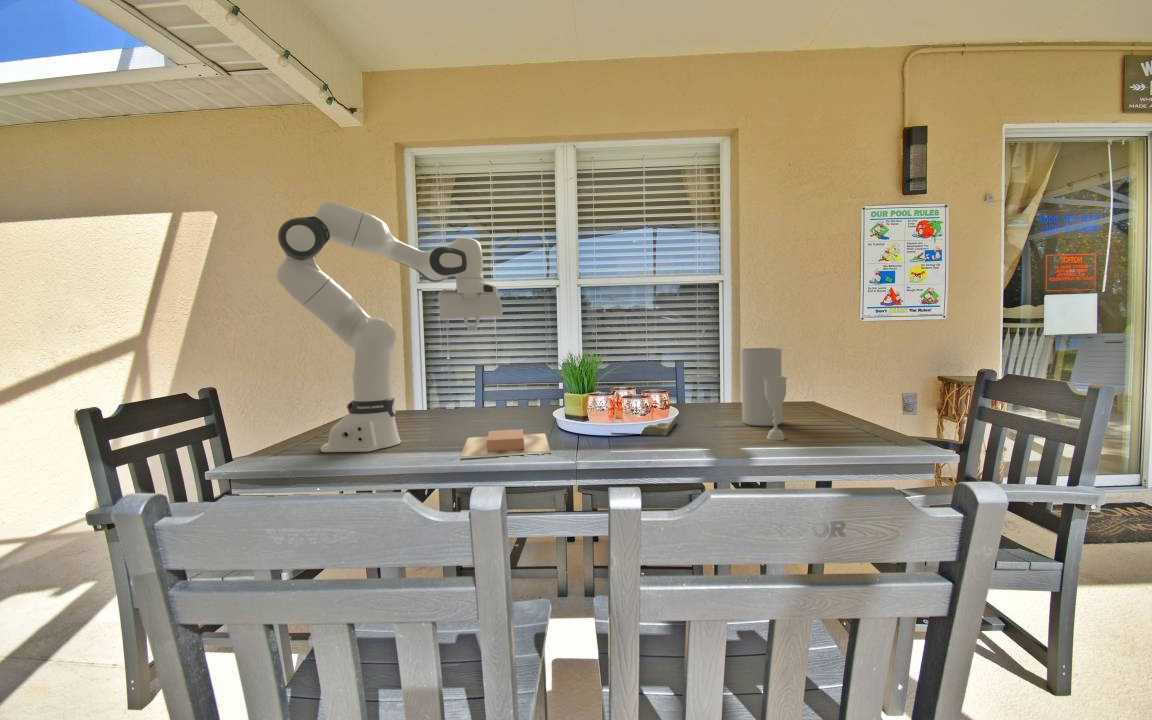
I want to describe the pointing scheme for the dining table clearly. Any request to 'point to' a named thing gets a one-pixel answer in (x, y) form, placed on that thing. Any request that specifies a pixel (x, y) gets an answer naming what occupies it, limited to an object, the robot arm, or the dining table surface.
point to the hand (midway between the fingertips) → (472, 331)
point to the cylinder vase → (759, 385)
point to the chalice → (775, 400)
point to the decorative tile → (658, 429)
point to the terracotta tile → (505, 440)
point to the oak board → (479, 447)
